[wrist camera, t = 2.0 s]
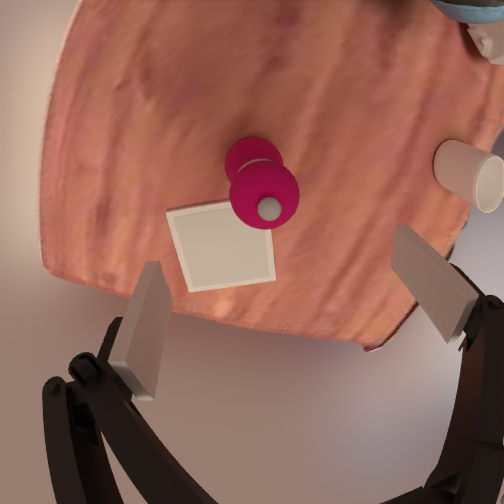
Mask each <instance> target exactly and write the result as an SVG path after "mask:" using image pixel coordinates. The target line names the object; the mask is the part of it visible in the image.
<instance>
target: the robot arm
mask: <svg viewBox="0 0 504 504" xmlns="http://www.w3.org/2000/svg"><path fill="white" fill-rule="evenodd" d="M430 1H431V2H432V3H433V4H434V5H435V6H436V7H437V8H438V9H439V10H440V11H441V12H442V13H443V14H444V15H445V16H447V17H448V18H451V19H453V20H455V21H458V22H462V23H467V24H486V23H493V22H497V21H500V20H503V19H504V0H430ZM390 267H391V268H392V269H393V270H394V272H395V273H396V274H397V275H398V277H399V278H400V279H401V280H402V282H403V283H404V284H405V286H406V287H407V288H408V289H409V291H410V292H411V293H412V295H413V296H414V297H415V299H416V300H417V301H418V303H419V304H420V305H421V307H422V308H423V310H424V311H425V312H426V314H427V315H428V317H429V318H430V319H431V321H432V322H433V323H434V325H435V326H436V328H437V329H438V331H439V332H440V334H441V335H442V337H443V338H444V340H445V341H446V343H447V344H449V343H451V342H453V341H455V340H458V339H459V337H460V335H461V333H462V331H464V332H465V333H466V336H465V338H464V340H463V342H462V343H461V345H460V347H459V350H458V351H460V350H461V348H462V347H463V354H462V363H461V370H460V377H459V383H458V389H457V394H456V399H455V404H454V409H453V413H452V417H451V421H450V426H449V429H448V433H447V436H446V440H445V443H444V446H443V450H442V453H441V456H440V459H439V461H438V464H437V466H436V467H435V469H434V470H433V471H432V473H431V474H430V476H429V477H428V479H427V481H426V483H425V486H424V488H422V486H421V487H419V488H417V489H414V490H412V491H410V492H408V493H405V494H403V495H400V496H398V497H396V498H393V499H391V500H388V501H386V502H383V503H380V504H496V501H497V498H498V495H499V492H500V489H501V485H502V482H503V478H504V446H503V437H504V303H503V302H502V301H501V300H500V299H499V298H498V297H496V296H494V295H487V296H485V294H484V293H483V292H482V291H481V290H480V289H479V288H478V287H477V286H476V285H475V284H474V283H473V282H472V281H471V280H470V279H469V277H468V276H467V275H465V273H464V272H463V271H461V269H460V268H459V267H457V266H455V265H453V264H451V263H448V262H447V261H446V260H445V259H444V258H443V257H442V256H441V255H440V254H439V253H438V252H437V251H436V250H435V249H434V248H433V247H431V246H430V245H429V244H428V243H427V242H426V241H425V240H424V239H423V238H422V237H420V236H419V235H418V234H417V233H416V232H415V231H414V230H413V229H411V228H410V227H409V226H408V225H407V224H406V225H399V226H396V231H395V239H394V246H393V253H392V259H391V265H390ZM172 304H173V298H172V295H171V293H170V290H169V287H168V284H167V282H166V279H165V276H164V273H163V270H162V268H161V265H160V262H159V260H158V261H151V262H146V264H145V266H144V268H143V270H142V273H141V275H140V277H139V280H138V282H137V284H136V287H135V289H134V292H133V294H132V296H131V299H130V301H129V304H128V306H127V309H126V312H125V314H124V317H116V318H115V319H114V320H113V322H112V323H111V324H110V325H109V327H108V330H107V333H106V335H105V338H104V340H103V341H104V342H103V343H102V345H101V348H100V350H99V353H98V356H97V359H96V358H95V356H94V355H93V354H92V353H89V352H83V353H81V354H79V355H77V356H76V357H74V358H73V360H72V361H71V362H70V364H69V368H68V370H69V374H70V375H71V376H72V377H73V379H75V381H72V382H68V383H66V382H65V381H64V380H63V379H62V378H61V377H58V376H56V377H52V378H50V379H49V380H48V381H47V382H46V383H45V385H44V387H43V391H42V401H43V422H44V434H45V443H46V452H47V458H48V465H49V471H50V475H51V481H52V486H53V490H54V494H55V498H56V502H57V504H124V503H123V500H122V498H121V495H120V493H119V490H118V487H117V484H116V481H115V479H114V476H113V473H112V470H111V467H110V464H109V460H108V457H107V453H106V450H105V446H104V443H103V439H102V435H101V432H102V433H103V435H104V437H105V439H106V441H107V442H108V444H109V446H110V448H111V450H112V451H113V453H114V455H115V456H116V458H117V459H118V461H119V463H120V464H121V466H122V467H123V469H124V471H125V472H126V474H127V475H128V476H129V478H130V479H131V481H132V482H133V484H134V485H135V487H136V488H137V489H138V491H139V492H140V494H141V495H142V496H143V498H144V499H145V500H146V501H147V503H148V504H218V503H217V502H216V501H215V500H214V499H213V498H212V497H211V496H210V495H209V494H208V493H207V492H206V491H205V490H204V489H203V488H202V487H201V486H199V484H198V483H197V482H196V481H195V480H194V479H193V478H192V477H191V476H190V475H189V474H188V473H187V472H186V471H185V469H184V468H183V467H182V466H181V465H180V464H179V463H178V461H177V460H176V459H175V458H174V457H173V456H172V454H171V453H170V452H169V451H168V450H167V448H166V447H165V446H164V445H163V443H162V442H161V441H160V440H159V438H158V437H157V436H156V434H155V433H154V432H153V430H152V429H151V428H150V426H149V425H148V424H147V422H146V421H145V419H144V418H143V417H142V415H141V414H140V412H139V411H138V410H137V408H136V407H135V405H134V404H133V402H132V401H131V398H132V394H134V395H135V397H136V398H137V399H138V400H154V399H155V393H156V387H157V381H158V375H159V369H160V363H161V358H162V352H163V347H164V342H165V337H166V332H167V327H168V323H169V318H170V313H171V309H172ZM100 430H101V431H100ZM501 504H504V495H503V496H502V498H501Z"/></svg>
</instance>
